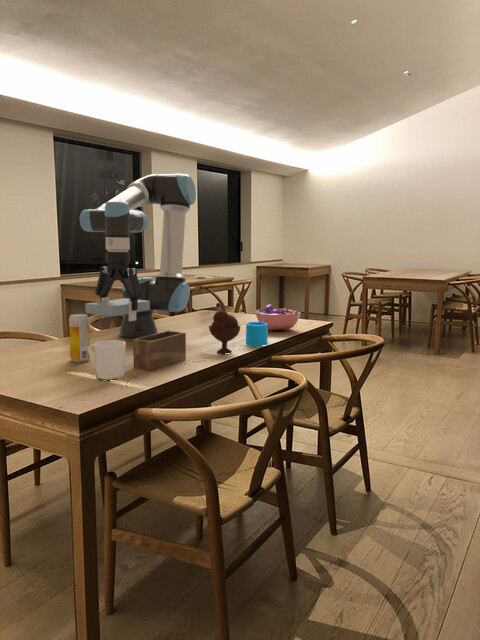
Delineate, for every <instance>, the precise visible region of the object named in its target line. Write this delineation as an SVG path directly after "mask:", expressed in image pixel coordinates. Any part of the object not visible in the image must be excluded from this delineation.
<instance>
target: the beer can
mask: <svg viewBox="0 0 480 640" xmlns="http://www.w3.org/2000/svg"><path fill="white" fill-rule="evenodd" d="M89 320H90V319H89V317H88V314H87V313H73V314H70V316H69V318H68V323H69V327H68V328H69V349H70V351H69V353H70V360H72V362H74V363H85V362H88V361H89V359H91V358H90V355H89V353H88V347H89V346H90V345H91V344H90V343H91V342H90V321H89Z"/></svg>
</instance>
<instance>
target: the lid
mask: <svg viewBox="0 0 480 640" xmlns="http://www.w3.org/2000/svg"><path fill="white" fill-rule="evenodd" d="M129 300H130V299H126V298H124V299H123V298H118V299H111V300H110V299H109V301H101V302H100V301H95V302H87V303H85V314H90V315H91V314H92V315H98V317H101V318H102V317H105V318H115V317H119V316H120V317H121V316H123V315H127V314H129V303H128V301H129ZM137 303H138V309H137V310H136V313H137V312H140V311H146V310H150V301H146V300H138V301H137Z"/></svg>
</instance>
